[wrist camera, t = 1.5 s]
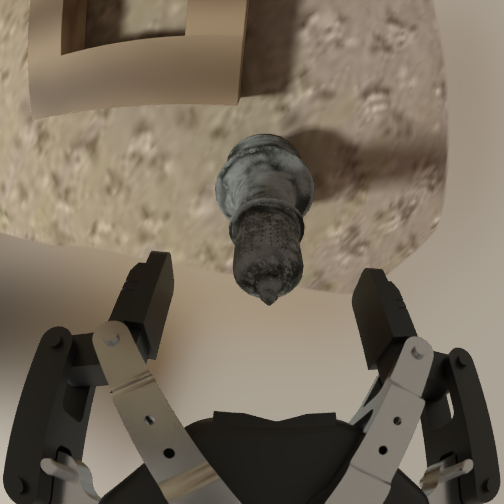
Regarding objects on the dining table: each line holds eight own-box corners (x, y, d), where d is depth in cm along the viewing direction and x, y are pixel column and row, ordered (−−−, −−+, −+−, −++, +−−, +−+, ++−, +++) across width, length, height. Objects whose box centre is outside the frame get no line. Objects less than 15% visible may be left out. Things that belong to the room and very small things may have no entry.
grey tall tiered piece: (214, 136, 18) (164, 250, 9) (302, 125, 17) (357, 229, 8) (230, 210, 22) (210, 351, 12) (308, 201, 21) (342, 340, 12)
